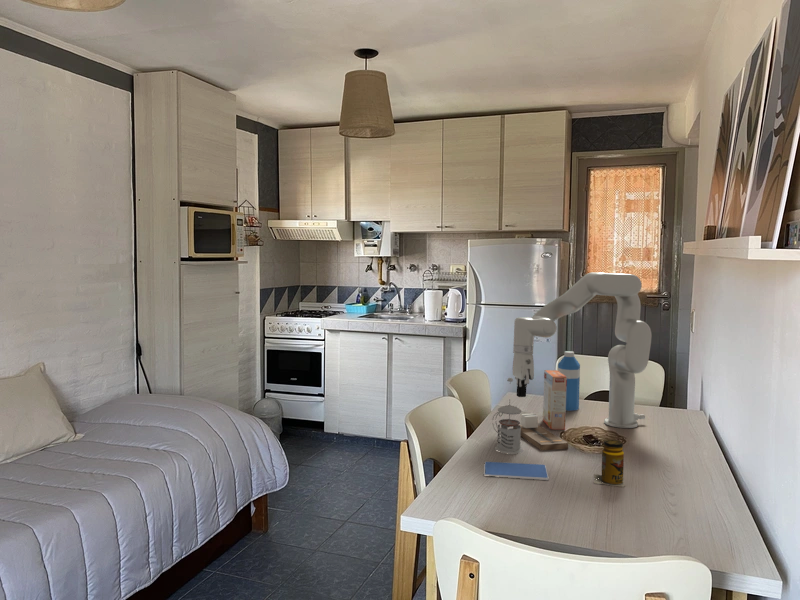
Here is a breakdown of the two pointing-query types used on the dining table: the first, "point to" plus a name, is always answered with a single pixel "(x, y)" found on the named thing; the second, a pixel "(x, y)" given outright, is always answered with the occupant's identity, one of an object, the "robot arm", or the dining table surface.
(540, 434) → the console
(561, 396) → the cracker box
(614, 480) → the condiment
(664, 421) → the dining table surface
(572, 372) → the water bottle
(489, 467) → the tablet computer
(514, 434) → the french press
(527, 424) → the fader knob
